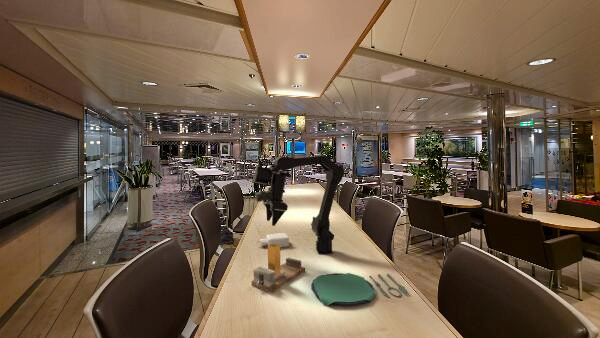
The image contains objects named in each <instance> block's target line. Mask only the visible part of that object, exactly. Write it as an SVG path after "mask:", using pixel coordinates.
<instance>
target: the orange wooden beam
mask: <svg viewBox="0 0 600 338" xmlns="http://www.w3.org/2000/svg"><path fill="white" fill-rule="evenodd" d="M280 265H281V247H280V245H278V244H271V245H269V246H267V269H270V270H273V271H275V279H276V281H277V280H278V279H280V278H282V277H283V276H285V271H281V270H280ZM263 282H264V279H263V280H261V281H259V282H257V283H256V285H257V286H258V285H260V284H262V283H263Z"/></svg>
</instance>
